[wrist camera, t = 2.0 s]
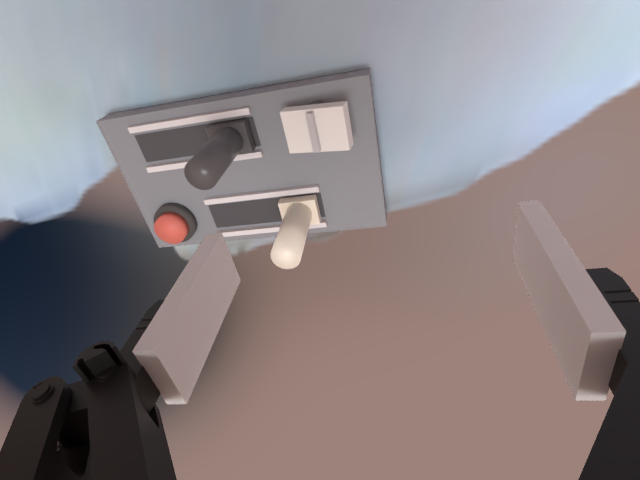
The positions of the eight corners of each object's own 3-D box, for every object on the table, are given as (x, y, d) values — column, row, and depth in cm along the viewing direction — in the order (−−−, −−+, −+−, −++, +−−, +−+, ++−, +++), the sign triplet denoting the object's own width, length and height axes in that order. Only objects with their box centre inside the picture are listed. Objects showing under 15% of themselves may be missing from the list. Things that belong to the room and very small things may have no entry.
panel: (167, 236, 52) (150, 258, 49) (109, 113, 44) (83, 128, 40) (386, 214, 47) (387, 237, 43) (369, 68, 38) (368, 80, 34)
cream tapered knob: (286, 221, 45) (269, 271, 38) (280, 198, 44) (260, 245, 37) (321, 218, 45) (310, 268, 37) (316, 194, 43) (303, 241, 36)
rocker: (295, 147, 40) (287, 156, 38) (285, 107, 38) (276, 114, 36) (353, 144, 38) (347, 153, 36) (347, 101, 36) (340, 108, 34)
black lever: (218, 153, 42) (185, 193, 34) (209, 124, 40) (171, 161, 33) (255, 147, 41) (229, 188, 34) (247, 118, 39) (217, 154, 32)
